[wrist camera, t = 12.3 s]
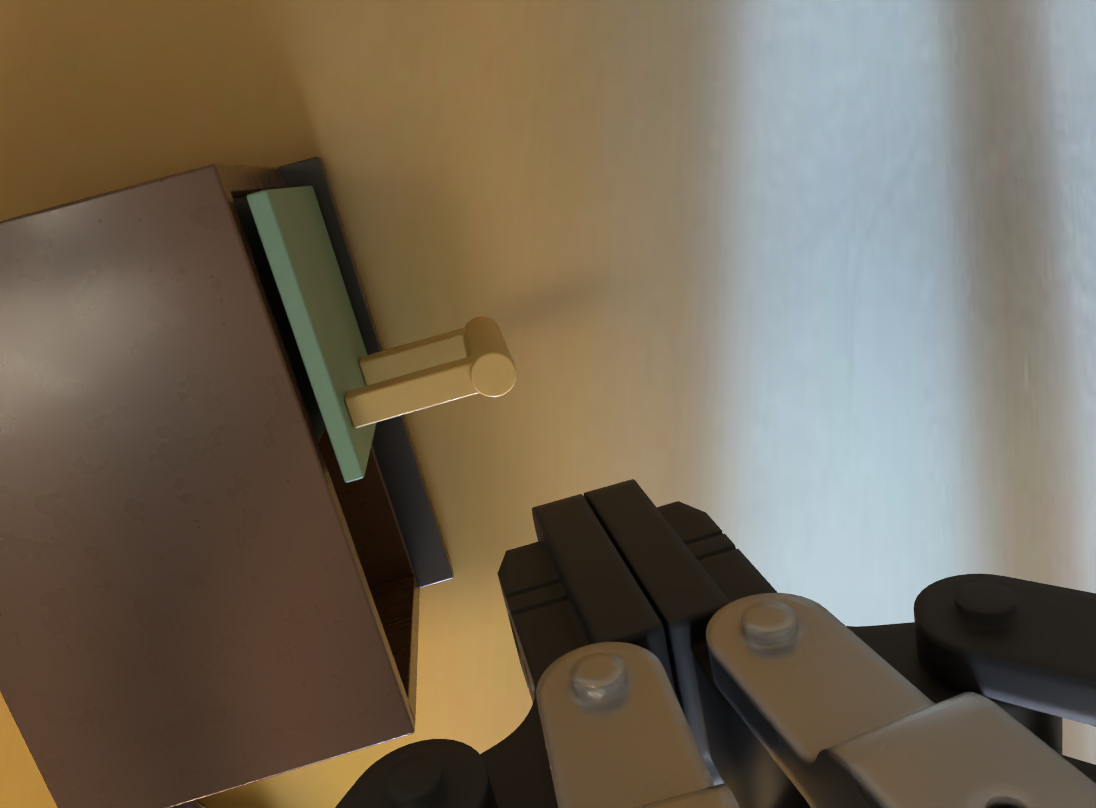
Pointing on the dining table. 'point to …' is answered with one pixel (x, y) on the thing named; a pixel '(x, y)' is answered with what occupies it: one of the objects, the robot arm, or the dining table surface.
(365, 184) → the dining table surface
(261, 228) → the door
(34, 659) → the cabinet
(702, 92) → the dining table surface
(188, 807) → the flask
